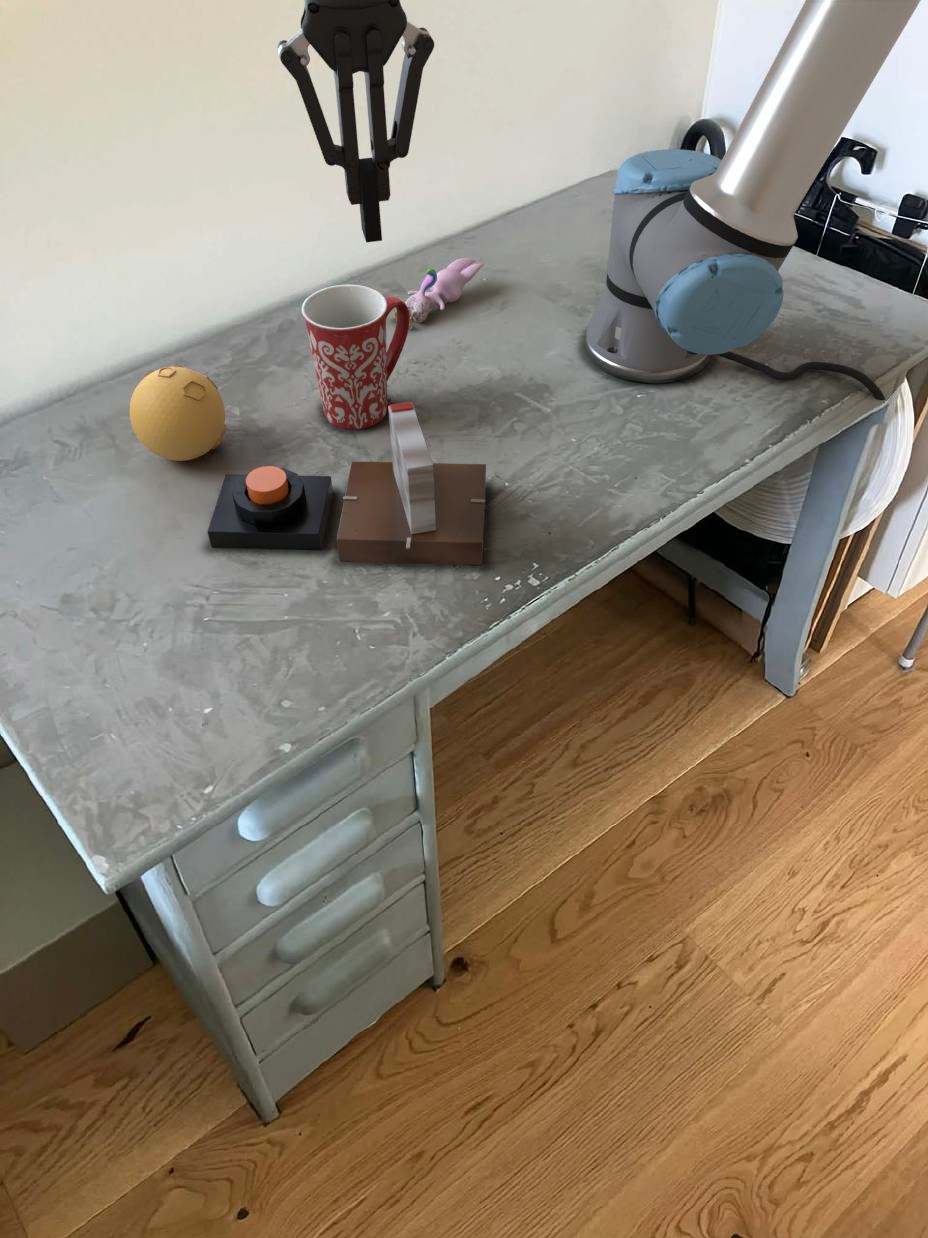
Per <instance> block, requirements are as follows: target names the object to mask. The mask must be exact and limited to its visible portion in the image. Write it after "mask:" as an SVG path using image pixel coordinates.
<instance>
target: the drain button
mask: <svg viewBox="0 0 928 1238" xmlns="http://www.w3.org/2000/svg"><path fill="white" fill-rule="evenodd" d="M280 468H281V467H277V466H273V465H264V466H259V467H257V468H254V469H252V470H251V471H250V473H249V472H248V473H249V474H248V476H247V477H246V485H247V490H248V495H249V498H250V499H251V500H252V501H253V502H254V503H257V504H273V503H276V502H279V501H282V500H283V499H284V498H286V497H287V495H288V493H289V488H288V482H287V476H286V473H285V472H284V471H283V470H282V469H280Z"/></svg>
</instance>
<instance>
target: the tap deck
mask: <svg viewBox="0 0 928 1238" xmlns="http://www.w3.org/2000/svg"><path fill="white" fill-rule="evenodd" d="M432 463H433V471H434V496H435V521H436V530H435V531H429V532H423V533H417V534H411V530H410V527H409V524H408V520H407V517H406V513H405V510H404V506H403V503H402V499H401V496H400V493H399V489H398V486H397V482H396V479H395V475H394V472H393V462H392V461H391V462H390V461H351V462H350V467H349V472H348V476H347V482H346V488H345V494H344V495H343V496H342V500H343V503H342V509H341V513H340V518H339V524H338V528H337V534H336V546H337V547H336V548H337V552H338V554H337V555H338V561H339V562H347V563H348V562H349V563H386V564H387V563H388V564H389V563H391V564H397V563H398V564H425V565H426V564H428V565H429V564H430V565H431V564H433V565H467V566H482V565H483V553H484V552H483V550H484V533H485V532H484V530H485V509H486V489H487V464H486V463H482V464H481V463H448V462H447V463H444V462H443V463H441V462H432Z"/></svg>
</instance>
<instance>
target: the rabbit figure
mask: <svg viewBox="0 0 928 1238" xmlns="http://www.w3.org/2000/svg"><path fill="white" fill-rule="evenodd" d="M484 266H485V264H484V263H482V262H481V263H476V260H475V259H473V258H468V257H461V258H457V259H455V260H453V261H452V262H451V263H449V264H448V266H447V267H446V268H443V269H441V270H439V271H438V272H437V271H436V270H435V269H434V268H429V269H427V271H426V272H425V275H426V276H425V278H424V279H423V281H422V283H421V285H420V289H419V290H408V291H407V295H408V296H409V297H408V298H407V299H406V300H405V301H404V303H405V304H406V305H407V307H408V310H409V330H411V329H412V328H413V327H414V326H413V324H412V319H413V321H414V322H416V323H423V322H425V320H426V319H427V317H428V315H429V312H430V309H433V308H434V307H436V305H439V309H440V311H445V308H446V307H445V304H448V303H454V302H456V301H457V300H459V299H460V297H461V295H462V293H463V291H464V287H465V285H466V284H468V283H469V282H470V281H471V280H472V279H473V278H475V276H476V274H477V273H478V272H479V271H480V270H481V269H482V268H483V267H484ZM428 290H429V291H428ZM392 311H393V319H394V320H395V323H397V310H396V309H395V310H394V309H392Z"/></svg>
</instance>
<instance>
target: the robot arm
mask: <svg viewBox="0 0 928 1238" xmlns="http://www.w3.org/2000/svg"><path fill="white" fill-rule="evenodd" d="M303 1H304V8H303V12H302V16H301V18H300V29H299V30H298V31H297V32H296V33H295V34H294V35H293V36H292V37H290V38H289V40H286V39H283V40H280V41H279V42H278V43H277V52H278V56H279V60H280V62H281V64H282V65H283V67H284V68H285V69H286V71H288V73H289V74H290V75H291V77H292V78H293V79H294V80H295V82H296V84H297V87H298V90H299V92H300V96H301V99H302V101H303V104H304V106H305V107H304V108H305V109H306V113H307V115H308V118H309V121H310V123H311V127H312V129H313V132H314V135H315V137H316V140H317V144H318V146H319V149H320V151H321V154H322V157H323V159H324V160H323V161H324V162H325V164H326V165H327V166H329V167H333V166H338V167H341V168H343V169H344V170H343V171H344V182H345V189H346V190H345V191H346V196H347V198H348V201H349V203H350V205H351V206H353V205H359V214H360V223H361V231H362V234H363V237H364V241H365V243H375V242H382V241H383V234H382V232H383V231H382V222H381V221H382V220H381V208H380V202H387V201H390V198H391V185H390V167H391V163H392V162H393V161H395V160H396V159H405V158H406V157H407V156H408V155H409V151H410V145H411V140H412V135H413V128H414V123H415V117H416V111H417V106H418V99H419V95H420V88H421V82H422V77H423V73H424V71H423V70H424V67H425V66H426V64H427V62H428V60H429V59H430V56H431V54H432V52H433V51H434V50H435V49H434V48H435V41H434V39H433V37H432V36H431V33H430V32H429V30H428V29H427V28H425V27H418V26H416V25H415V24H413V23H412V22H410V21H408V17H407V14H406V12H405V10H404V9H403V7H402V3H401V0H303ZM921 1H922V0H805V1H804V3H803V4H802V7H801V9H800V11H799V13H798V14H797V16H796V18H795V20H794V22H793V23H792V25H791V28H790V30H789V31H788V33H787V36H786V37H785V39H784V41H783V43H782V45H781V47H780V49H779V51H778V52H777V54H776V56H775V58H774V61H773V62H772V64H771V66H770V68H769V69H768V72H767V73H766V75H765V77H764V79H763V81H762V83H761V85H760V86H759V88H758V91H757V93H756V94H755V96H754V98H753V100H752V101H751V104H750V105H749V108H748V109H747V111H746V114H745V115H744V117H743V119H742V121H741V123H740V125H739V127H738V129H737V130H736V133H735V135H734V136H733V138H732V140H731V142H730V144H729V146H728V148H727V150H726V152H725V154H724V155H723V158H722V159H721V158H720V157H717V156H715V155H713V154H710V153H706V152H702V151H697V150H691V149H680V148H679V149H678V148H677V149H676V148H675V149H673V148H672V149H671V148H669V149H667V148H666V149H656V150H654V149H653V150H648V151H644V152H640V153H637V154H634V155H632V156H630V157H628V158H627V159H625V160H623V162H622V163H621V164H620V165H619V168H618V170H617V175H616V182H615V187H614V188H613V190H612V192H613V194H614V198H613V207H612V208H613V209H612V217H611V229H610V236H609V237H610V238H609V249H608V260H607V271H606V282H605V287H604V289H603V291H602V294H601V295H600V298H599V300H598V302H597V304H596V306H595V309H594V310H593V313H592V315H591V318H590V319H589V322H588V324H587V327H586V331H585V341H584V349H585V352H586V355H587V357H588V358H589V359H590V360H591V362H592V363H593V364H595V366H597V367H598V368H599V369H601V370H603V371H604V372H605V373H608V374H610V375H612V376H615V377H617V378H620V379H624V380H627V381H631V382H638V383H644V384H645V383H647V384H661V383H662V384H663V383H671V382H676V381H680V380H684V379H686V378H689V377H691V376H694V375H695V374H697V373H698V372H700V371H701V370H703V369H704V368H705V366H706V365H707V364H708V363H709V360H710V357H711V355H712V356H713V355H715V356H718V357H721V358H723V359H726V360H730V361H731V362H735V363H737V364H740V365H743V366H745V367H747V368H749V369H752V370H755V371H758V372H760V373H762V374H764V375H767V376H768V377H771V378H772V379H775V380H779V381H791V380H794V379H797V378H798V377H800V376H802V375H803V374H804V373H805V372H808V371H824V372H833V373H837V374H843V375H846V376H848V377H850V378H852V379H854V380H856V381H857V382H859V383H860V384H862V385H863V386H864V387H865V389H867V390H868V392H870V393H871V394H872V396H873V397H874V399H876V400H878V401H883V402H884V401H886V397H885V395H884V393H883V391H882V390H881V388H880V387H879V386H878V384H876V383H875V382H874V381H873V380H872V379H871V378H870V377H868V376H867V375H866V374H865V373H863V372H861V371H859V370H858V369H855V368H853V367H850V366H848V365H843V364H840V363H833V362H824V361H807V362H804V363H801V364H800V365H798V366H797V367H795V368H794V369H793V370H790V371H780V370H776V369H774V368H773V367H770V366H769V365H767V364H764V363H762V362H760V361H757V360H754V359H751V358H749V357H747V356H743V355H741V354H739V353H736V352H733V351H732V350H733V349H735V348H742V347H745V346H747V345H748V344H750V343H751V342H753V341H755V340H756V339H758V337H760V336H762V335H763V334H764V333H765V331H767V330H768V328H770V326H771V325H772V324H773V323H774V321H775V320H776V318H777V316H778V314H779V313H780V311H781V308H782V305H783V301H784V294H785V293H784V289H783V288H784V287H783V286H784V281H783V276H782V275H781V274H780V272H779V270H780V268H781V267H782V266H783V263H784V262H785V260H786V258H787V257H788V255H789V253H790V252H791V250H792V249H793V247H794V245H795V244H796V242H797V240H798V238H799V237H798V235H799V234H798V231H797V226H796V221H795V213H796V212H797V210H798V208H799V206H800V205H801V203H802V201H803V200H804V198H805V196H806V195H807V194H808V191H809V190H810V189H811V186H812V185H813V183H814V181H815V179H816V178H817V176H818V174H819V173H820V171H821V170H822V168H823V166H824V165H825V163H826V161H827V159H828V158H829V156H830V154H831V152H832V151H833V149H834V148H835V146H836V145H837V143H838V141H839V139H840V138H841V136H842V135H843V133H844V130H845V129H846V128H847V126H848V124H849V122H850V121H851V119H852V117H853V116H854V114H855V112H856V111H857V109H858V107H859V106H860V104H861V102H862V100H863V98H864V97H865V96H866V94H867V92H868V91H869V89H870V87H871V85H872V83H873V82H874V80H875V79H876V77H877V75H878V73H879V72H880V70H881V69H882V66H883V65H884V63H885V61H886V59H887V58H888V56H889V55H890V53H891V52H892V50H893V48H894V47H895V45H896V43H897V41H898V40H899V38H900V36H901V34H902V33H903V32H904V29H905V28H906V26H907V25H908V23H909V21H910V19H912V16H913V14H914V13H915V11H916V9H917V8H918V6H919V4H920V3H921ZM401 39H402V43H401V47H402V50H403V51H404V56H403V60H402V64H401V72H400V78H399V82H398V83H399V85H398V90H397V95H396V102H395V107H394V108H395V109H394V114H393V121H392V128H391V134H390V138H388V129H387V127H388V126H387V114H386V100H385V99H386V98H385V74H384V73H385V72H384V66H386V65H387V63H388V62H389V60H390V58H391V57H392V54H393V53H394V51H395V49H396V47H397V45H398V44H399V43H400V40H401ZM309 46H311V48H313V49H314V51H315V52H316V53H317V54H318V56H319V57H320V58H321V59H322V60H323V62H324V63H325V64H326V65H327V66H328V68H329V69H330V70H332V71H333V77H334V86H335V95H336V106H337V116H338V125H339V135H340V136H339V138H340V145H339V144H335V143H334V141H333V137H332V134H331V131H330V129H329V125H328V123H327V120H326V117H325V115H324V112H323V108H322V106H321V103H320V100H319V97H318V94H317V91H316V89H315V86H314V83H313V80H312V77H311V74H310V71H309V69H308V67H307V66H308V65H309V64H310V62H311V57H310V53H309V50H308V49H309ZM359 72H362V73H363V74H364V81H365V82H364V83H365V93H366V94H365V95H366V107H367V120H368V129H369V130H368V131H369V132H368V133H369V143H370V153H371V157H364V158H360V153H359V151H360V150H359V141H358V140H359V139H358V130H357V118H356V106H355V105H356V104H355V93H354V87H355V85H354V74H356V73H359Z"/></svg>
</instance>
